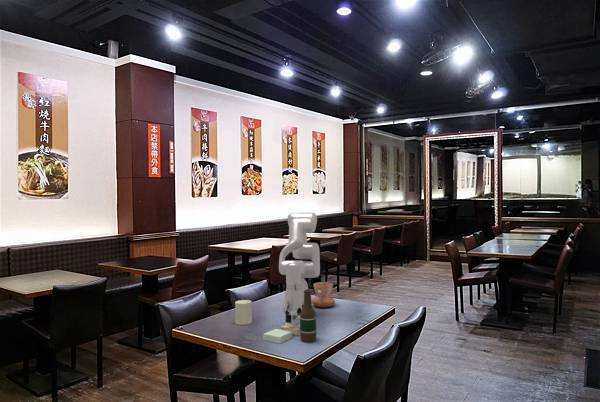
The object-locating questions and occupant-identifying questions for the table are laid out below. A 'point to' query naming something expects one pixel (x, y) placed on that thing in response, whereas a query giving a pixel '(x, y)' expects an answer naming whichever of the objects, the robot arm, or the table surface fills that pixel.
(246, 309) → the can
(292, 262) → the robot arm
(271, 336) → the stand
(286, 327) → the stand
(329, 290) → the ceramic jug
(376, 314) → the table surface
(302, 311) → the beer bottle
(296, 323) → the housing
